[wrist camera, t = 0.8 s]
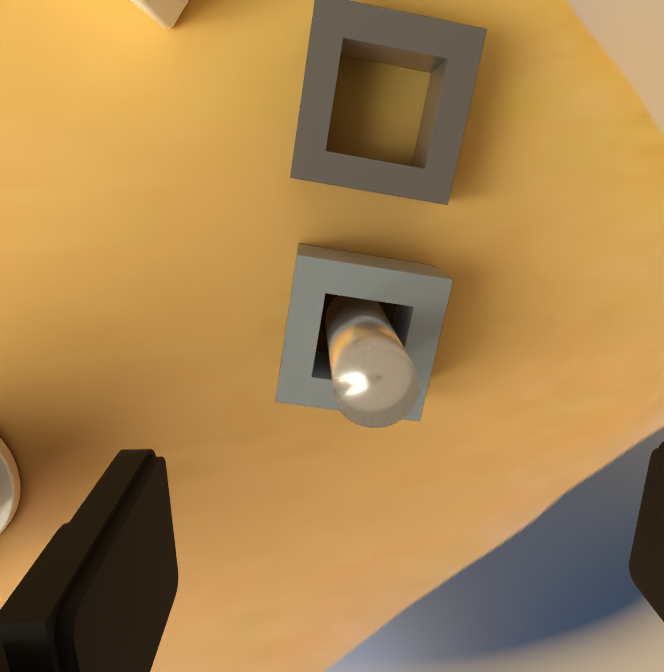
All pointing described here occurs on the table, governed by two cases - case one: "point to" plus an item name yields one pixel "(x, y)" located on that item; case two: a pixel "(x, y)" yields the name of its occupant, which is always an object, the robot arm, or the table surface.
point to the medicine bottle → (162, 10)
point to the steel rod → (368, 364)
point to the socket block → (365, 283)
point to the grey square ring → (399, 50)
